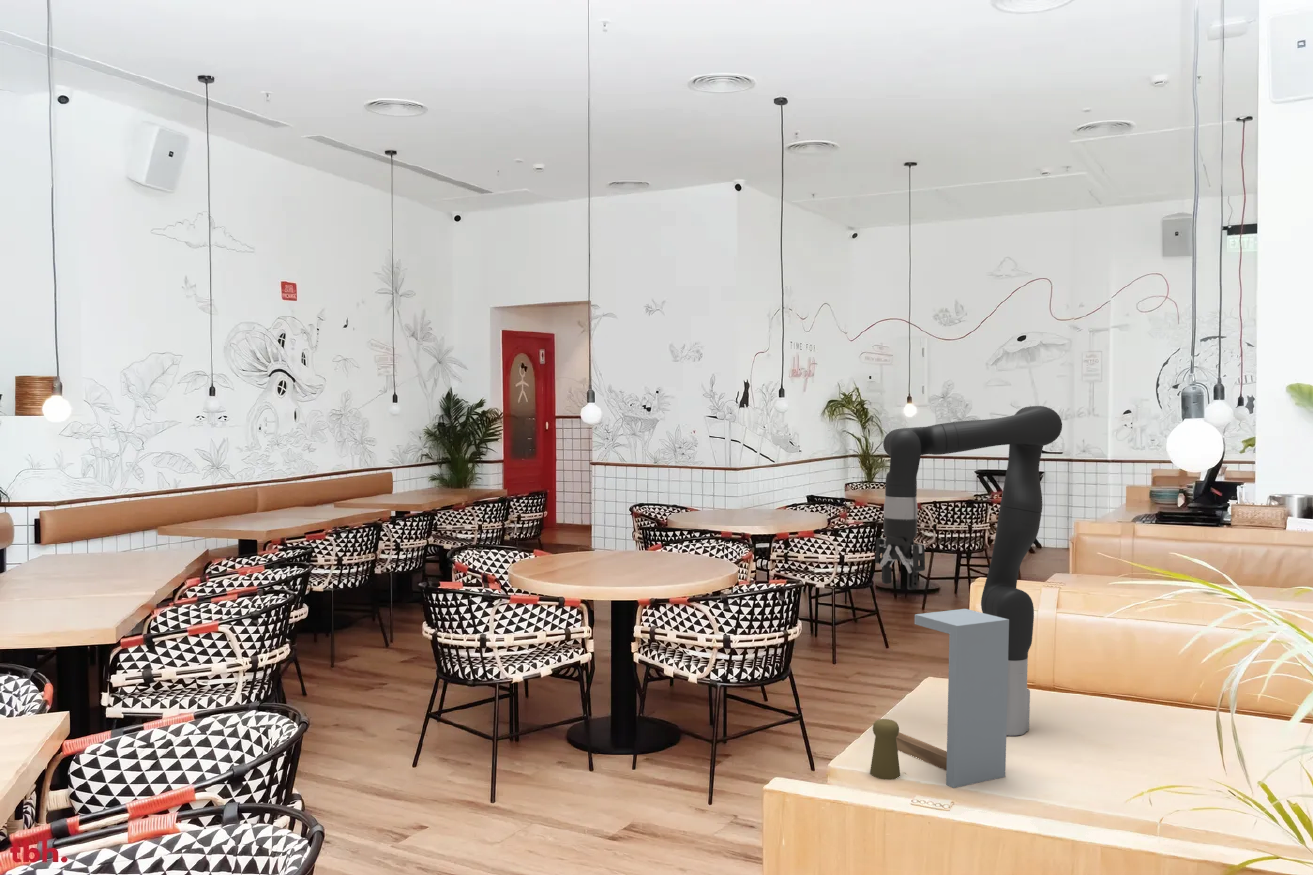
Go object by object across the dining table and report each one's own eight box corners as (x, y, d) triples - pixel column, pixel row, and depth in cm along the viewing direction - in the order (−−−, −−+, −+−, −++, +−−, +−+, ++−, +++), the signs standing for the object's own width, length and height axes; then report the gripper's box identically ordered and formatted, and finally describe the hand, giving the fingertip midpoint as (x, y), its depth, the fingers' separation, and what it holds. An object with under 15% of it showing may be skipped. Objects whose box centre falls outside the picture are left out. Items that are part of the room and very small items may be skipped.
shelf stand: (962, 758, 222) (965, 608, 221) (1005, 776, 212) (1009, 619, 211) (911, 768, 216) (914, 614, 215) (953, 788, 205) (957, 625, 204)
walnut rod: (889, 741, 234) (889, 728, 234) (963, 772, 215) (964, 758, 215) (879, 743, 232) (879, 730, 232) (953, 775, 213) (953, 760, 213)
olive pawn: (900, 780, 209) (901, 726, 209) (869, 778, 210) (870, 723, 210) (899, 770, 215) (900, 717, 214) (869, 767, 216) (870, 715, 216)
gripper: (934, 518, 236) (933, 590, 237) (892, 512, 249) (891, 580, 249) (909, 520, 232) (907, 592, 233) (867, 513, 245) (866, 582, 246)
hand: (899, 586), depth 241 cm, fingers open, 8 cm apart
